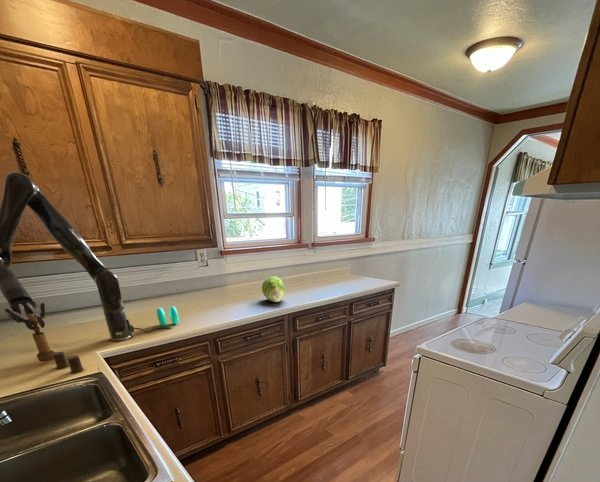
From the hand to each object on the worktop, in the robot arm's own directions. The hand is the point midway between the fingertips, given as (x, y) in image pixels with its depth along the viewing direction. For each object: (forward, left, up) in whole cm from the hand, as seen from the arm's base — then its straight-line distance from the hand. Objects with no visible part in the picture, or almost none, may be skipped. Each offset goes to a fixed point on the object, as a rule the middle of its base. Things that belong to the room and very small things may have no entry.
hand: (37, 327), depth 130 cm
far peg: (-6, +16, -16) cm, 23 cm away
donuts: (-61, -19, -16) cm, 66 cm away
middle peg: (-3, +7, -16) cm, 17 cm away
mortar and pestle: (0, -2, -14) cm, 14 cm away
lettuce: (-143, -21, -16) cm, 145 cm away
